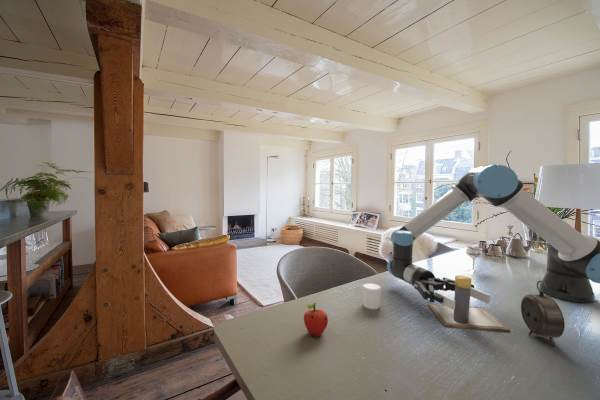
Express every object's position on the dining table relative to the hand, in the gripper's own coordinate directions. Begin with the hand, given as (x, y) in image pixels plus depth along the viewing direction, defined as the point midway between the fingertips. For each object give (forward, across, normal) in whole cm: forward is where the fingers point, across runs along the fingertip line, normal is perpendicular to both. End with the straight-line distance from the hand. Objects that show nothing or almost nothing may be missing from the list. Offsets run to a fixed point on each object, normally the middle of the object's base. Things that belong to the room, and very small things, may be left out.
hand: (472, 302), depth 77 cm
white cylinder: (-22, +20, -8) cm, 31 cm away
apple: (-10, +45, -8) cm, 47 cm away
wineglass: (-39, -49, -8) cm, 63 cm away
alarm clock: (+9, -14, -8) cm, 19 cm away
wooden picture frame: (-6, -4, -8) cm, 11 cm away
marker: (-3, 0, -7) cm, 8 cm away
